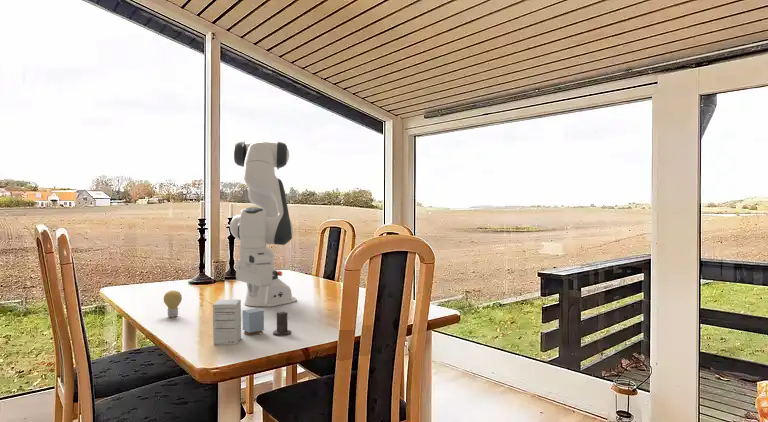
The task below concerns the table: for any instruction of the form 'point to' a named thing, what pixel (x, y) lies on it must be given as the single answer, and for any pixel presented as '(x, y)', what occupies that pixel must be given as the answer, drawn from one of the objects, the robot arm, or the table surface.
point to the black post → (282, 325)
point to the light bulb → (172, 302)
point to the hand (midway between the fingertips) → (253, 296)
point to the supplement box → (226, 322)
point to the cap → (253, 320)
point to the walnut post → (253, 333)
